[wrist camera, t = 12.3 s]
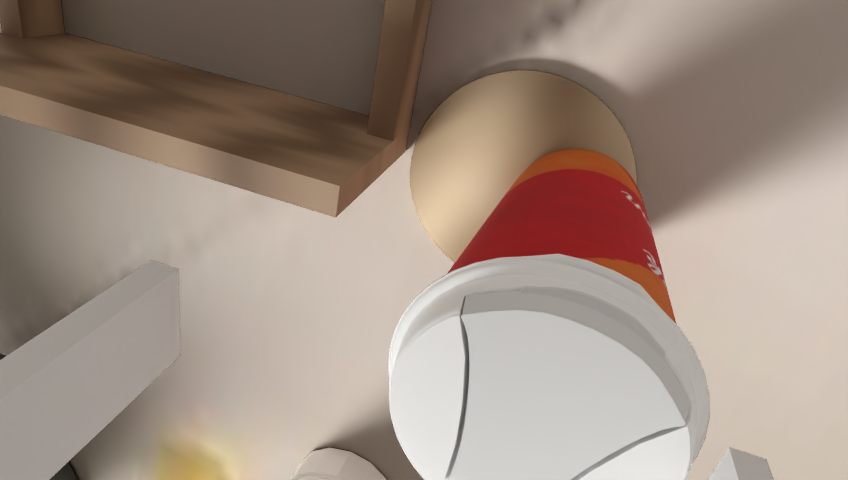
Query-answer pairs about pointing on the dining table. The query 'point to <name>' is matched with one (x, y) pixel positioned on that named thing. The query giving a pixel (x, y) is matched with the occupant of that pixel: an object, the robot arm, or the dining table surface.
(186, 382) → the dining table surface
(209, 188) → the dining table surface
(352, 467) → the white cup
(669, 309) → the paper cup
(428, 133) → the mat
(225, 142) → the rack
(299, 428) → the dining table surface
